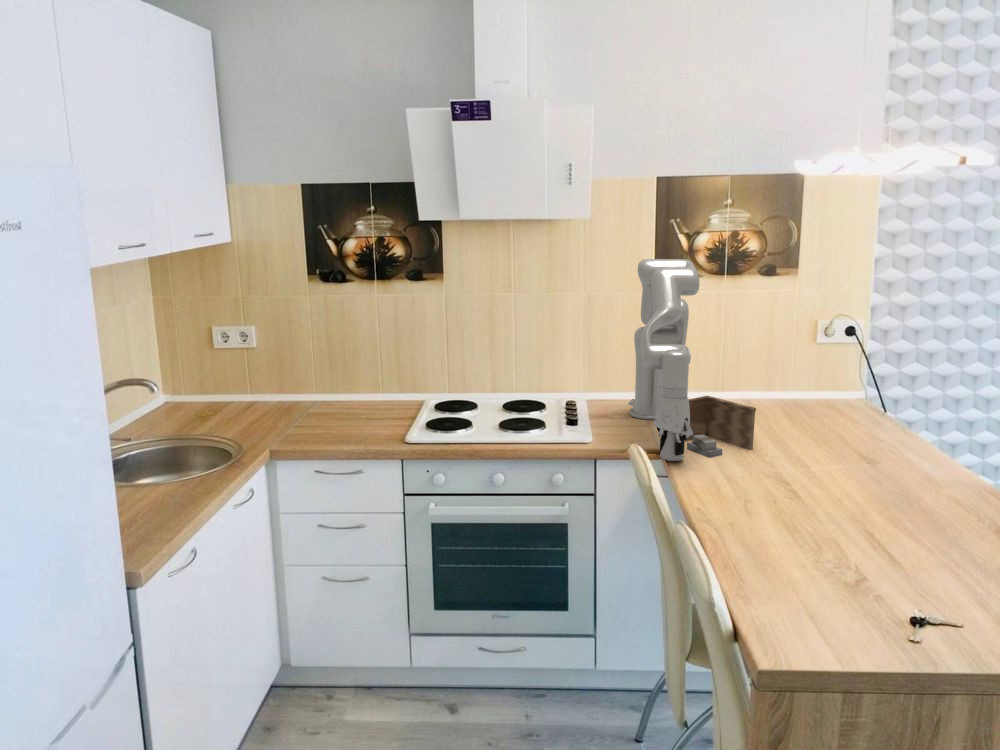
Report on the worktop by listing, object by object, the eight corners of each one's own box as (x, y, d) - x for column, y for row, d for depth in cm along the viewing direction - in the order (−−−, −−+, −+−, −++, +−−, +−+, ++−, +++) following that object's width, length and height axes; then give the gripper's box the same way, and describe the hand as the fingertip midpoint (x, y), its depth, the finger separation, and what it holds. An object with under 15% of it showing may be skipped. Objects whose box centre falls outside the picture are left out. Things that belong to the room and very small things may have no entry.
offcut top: (692, 443, 263) (692, 435, 263) (702, 442, 264) (703, 434, 264) (705, 450, 256) (705, 442, 255) (716, 449, 257) (716, 441, 256)
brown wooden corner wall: (665, 444, 268) (666, 404, 265) (705, 434, 278) (707, 395, 275) (713, 460, 253) (715, 417, 250) (753, 449, 263) (756, 408, 260)
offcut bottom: (686, 450, 263) (687, 443, 263) (698, 448, 266) (699, 440, 265) (709, 459, 255) (710, 451, 255) (722, 456, 258) (722, 449, 257)
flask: (684, 462, 248) (685, 429, 246) (658, 461, 250) (660, 428, 248) (683, 454, 255) (685, 422, 253) (659, 453, 257) (660, 421, 254)
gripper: (643, 388, 253) (642, 447, 257) (687, 400, 239) (684, 462, 243) (662, 384, 257) (659, 442, 261) (705, 396, 243) (702, 457, 247)
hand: (671, 451), depth 252 cm, fingers closed on flask, 5 cm apart
